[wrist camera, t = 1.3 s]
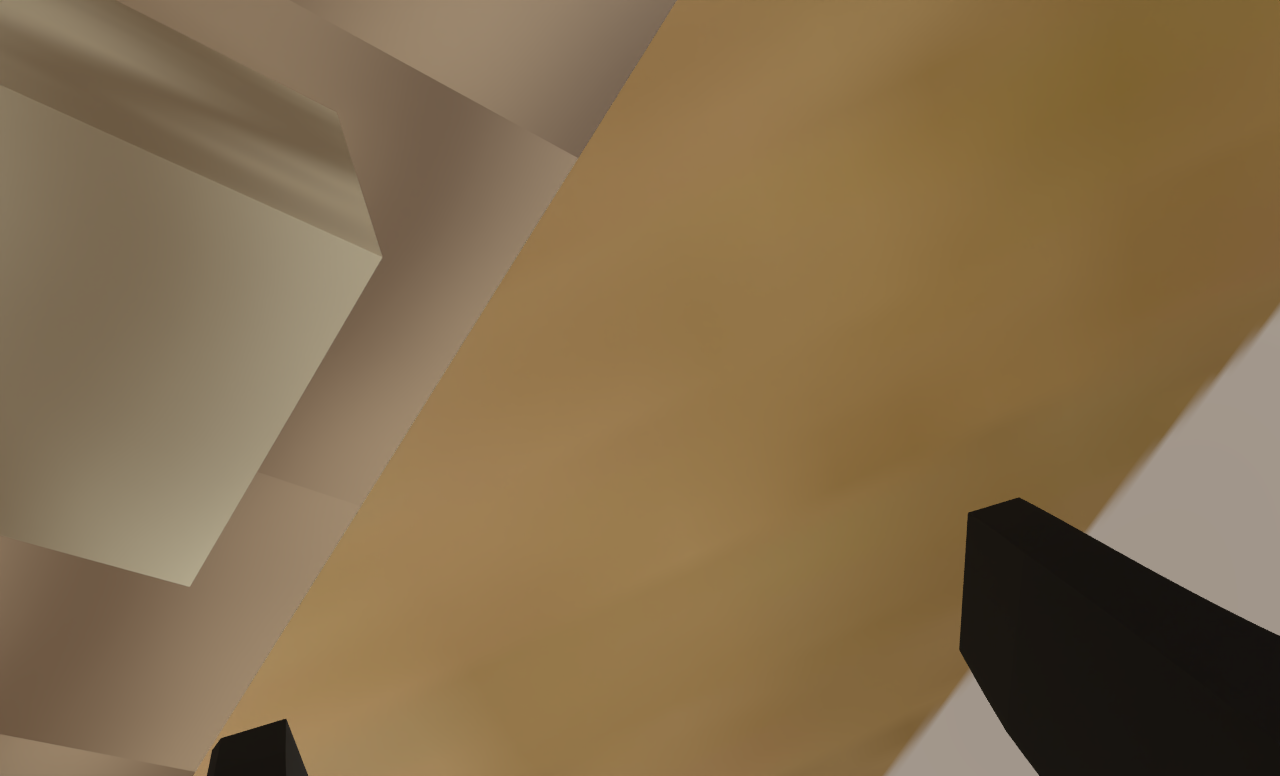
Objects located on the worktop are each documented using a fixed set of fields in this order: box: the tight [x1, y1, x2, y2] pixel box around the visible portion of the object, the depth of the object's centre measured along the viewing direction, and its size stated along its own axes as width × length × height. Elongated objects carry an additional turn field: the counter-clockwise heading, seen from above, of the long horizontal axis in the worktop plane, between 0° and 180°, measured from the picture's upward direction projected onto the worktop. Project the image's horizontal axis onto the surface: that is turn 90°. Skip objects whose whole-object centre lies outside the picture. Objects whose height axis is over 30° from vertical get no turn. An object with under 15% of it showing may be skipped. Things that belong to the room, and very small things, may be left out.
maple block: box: [0, 0, 382, 587], centre depth 14 cm, size 4×4×4 cm
